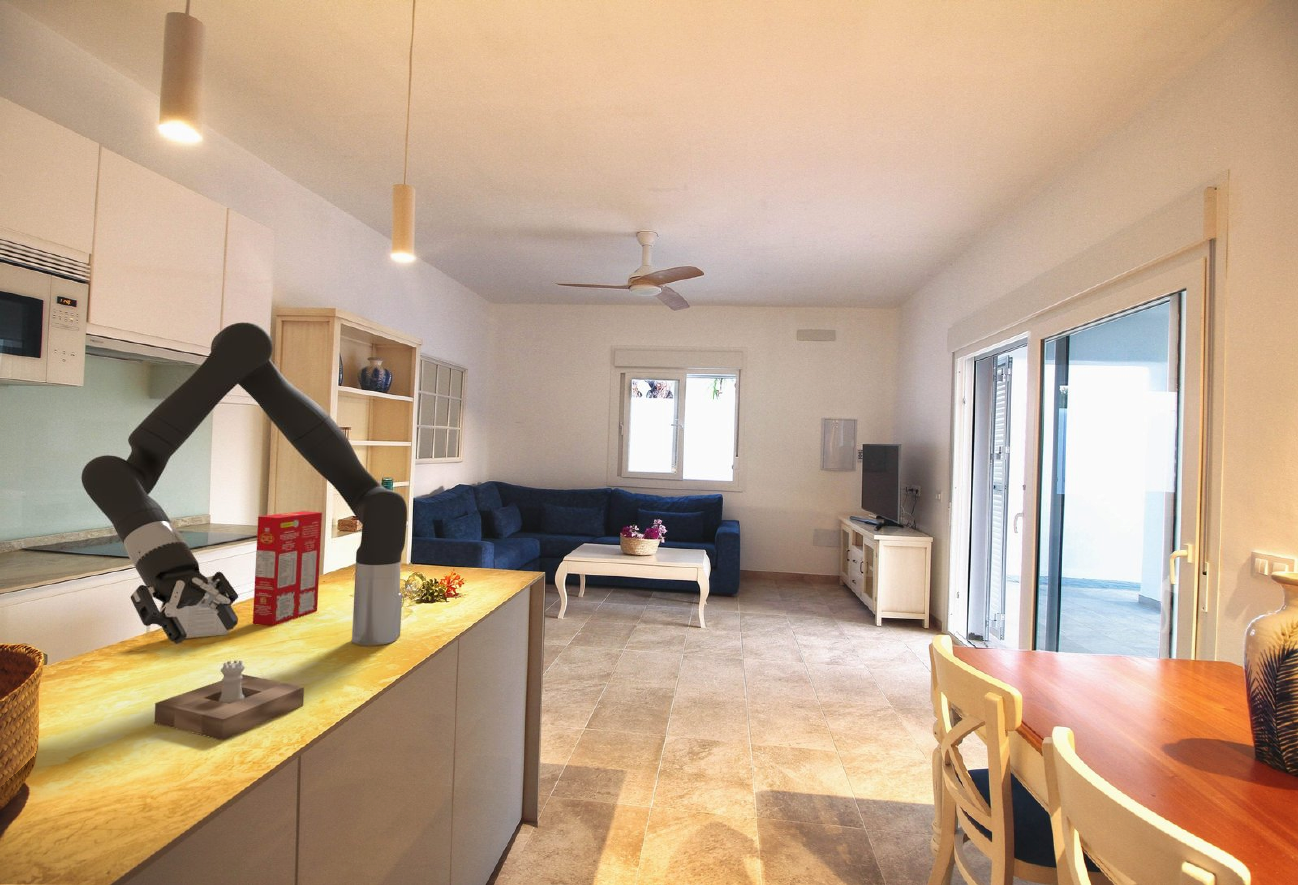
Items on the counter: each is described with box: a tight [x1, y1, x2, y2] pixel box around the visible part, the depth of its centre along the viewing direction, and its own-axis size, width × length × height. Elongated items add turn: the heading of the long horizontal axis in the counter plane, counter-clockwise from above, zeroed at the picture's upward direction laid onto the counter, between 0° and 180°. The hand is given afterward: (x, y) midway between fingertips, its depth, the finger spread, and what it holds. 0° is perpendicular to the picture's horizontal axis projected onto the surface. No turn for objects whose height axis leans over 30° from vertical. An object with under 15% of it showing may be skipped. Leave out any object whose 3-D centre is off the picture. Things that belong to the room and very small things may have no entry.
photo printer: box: [173, 580, 230, 639], centre depth 140 cm, size 10×4×12 cm, turn 123°
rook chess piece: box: [219, 659, 246, 704], centre depth 102 cm, size 4×4×8 cm
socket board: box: [153, 673, 305, 741], centre depth 102 cm, size 14×14×3 cm
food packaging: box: [252, 510, 323, 627], centre depth 157 cm, size 15×5×25 cm, turn 169°
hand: (208, 633), depth 104 cm, fingers open, 8 cm apart
